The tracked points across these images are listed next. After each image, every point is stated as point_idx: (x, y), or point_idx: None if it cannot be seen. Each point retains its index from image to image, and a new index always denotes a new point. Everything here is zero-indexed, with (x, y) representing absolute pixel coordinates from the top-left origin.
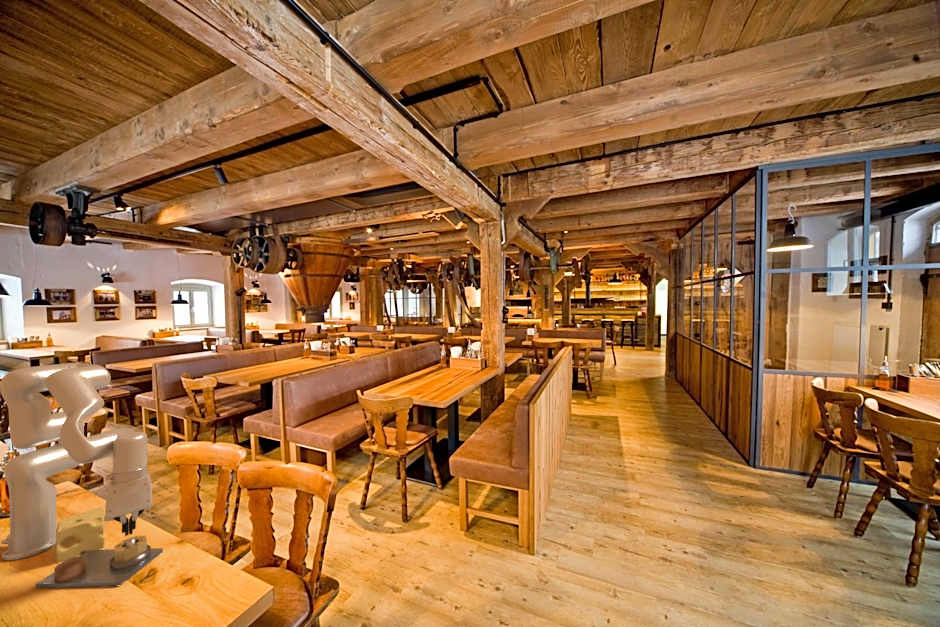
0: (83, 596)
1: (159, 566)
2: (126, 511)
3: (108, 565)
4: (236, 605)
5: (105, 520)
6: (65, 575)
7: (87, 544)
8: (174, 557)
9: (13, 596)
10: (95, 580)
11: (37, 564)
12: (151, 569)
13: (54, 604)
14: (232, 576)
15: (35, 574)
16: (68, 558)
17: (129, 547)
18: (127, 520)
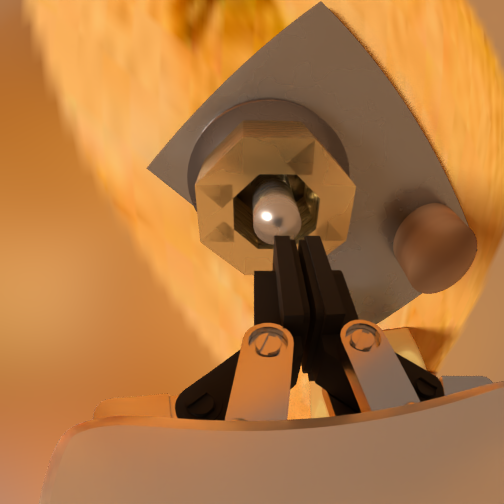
0: (418, 59)
1: (164, 38)
2: (407, 453)
3: None
4: None
5: (486, 381)
6: (454, 215)
7: None
8: (108, 75)
9: (494, 243)
10: (393, 107)
11: (424, 343)
12: (195, 36)
13: (472, 100)
14: None
15: (444, 307)
16: (390, 330)
17: (287, 157)
18: (327, 346)
